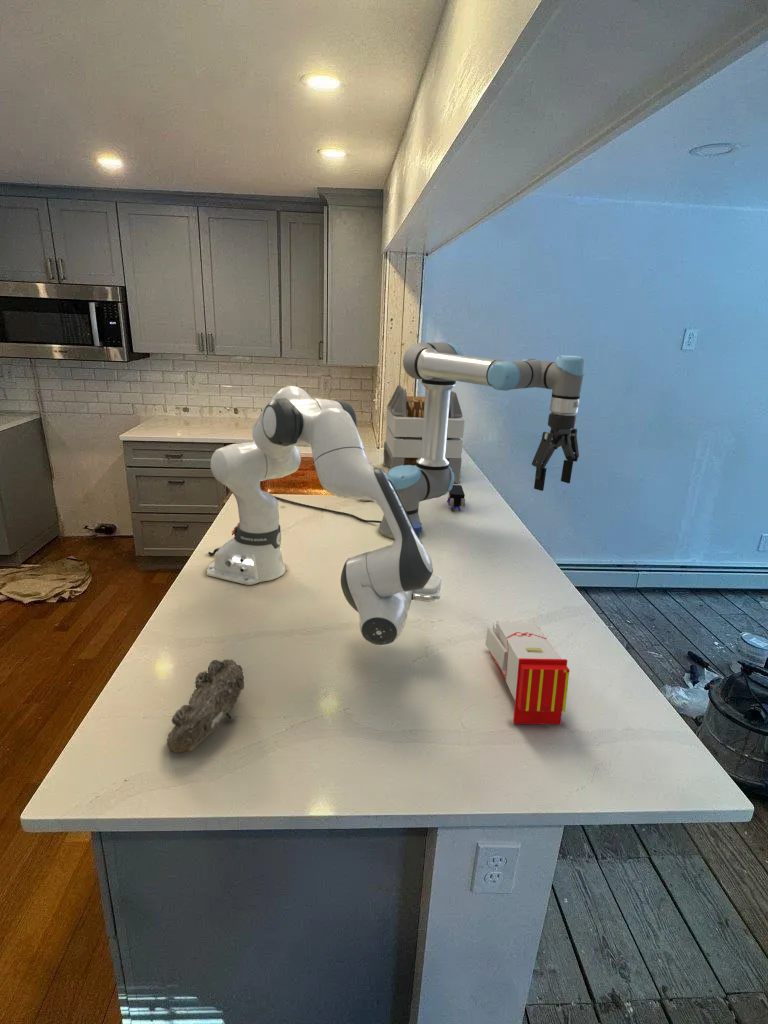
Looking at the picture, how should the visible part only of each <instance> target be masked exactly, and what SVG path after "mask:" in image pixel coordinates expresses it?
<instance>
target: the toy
mask: <svg viewBox="0 0 768 1024" xmlns="http://www.w3.org/2000/svg"><path fill="white" fill-rule="evenodd" d="M485 637H486V638H485V646H486V647H487V649H488V652H489V654H490V655H491V657H492V659H493V661H494V663H495V664H496V666H497V668H498V670H499V672H500V673H501V675H502V677H503V679H504V680H505V683H506V685H507V687H508V690H509V691H510V693H511V695H512V698H513V700H514V709H513V720H512V721H513V724H514V725H561V724H562V714H563V712H566V706H567V698H568V687H569V678H570V668H569V667H568V659H566V658H562V657H561V656H560V655H559V653H558V652H557V651H556V649H555V648H554V647H553V645H552V644H551V642H550V641H549V639H548V638H547V637H546V635H545V634H544V632H543V631H542V630H541V628H540V626H539V625H537V623H536V622H535V621H510V620H508V621H507V620H497V621H496V623H493V624H492V628H491V627H490V626H487V629H486V636H485Z"/></svg>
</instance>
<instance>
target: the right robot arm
mask: <svg viewBox="0 0 768 1024" xmlns="http://www.w3.org/2000/svg"><path fill="white" fill-rule="evenodd" d="M585 365H586V360H585V358H584V357H582V356H578V355H566V354H565V355H564V354H563V355H558V356H557V357H556V360H555V361H549V360H541V359H536V358H524V359H521V360H506V359H505V360H504V359H503V360H502V359H496V358H487V357H479V356H471V355H464V354H463V352H462V350H461V349H460V347H459V346H457V345H456V344H455V343H451V342H445V341H443V342H442V341H441V342H440V341H439V342H438V341H437V342H417V343H414V344H412V345H411V346H409V347H408V348H407V350H406V351H405V353H404V355H403V358H402V366H403V369H404V372H405V373H406V374H407V375H408V376H409V377H411V378H412V379H415V380H421V385H422V386H423V387H424V389H425V392H424V397H425V404H424V419H423V434H422V449H421V457H420V458H418V459H417V461H416V466H413V465H401V466H396V467H394V468H392V469H390V468H389V470H388V472H387V473H386V474H387V476H388V477H389V478H390V480H391V482H392V484H393V485H394V487H395V489H396V491H397V493H398V495H399V497H400V499H401V501H402V503H403V506H404V508H405V510H406V512H407V514H408V516H409V518H410V520H411V521H414V522H419V523H421V524H422V525H423V523H422V522H421V518H420V515H419V507H420V506H419V505H420V502H423V501H427V500H431V499H437V498H440V497H443V496H446V495H448V493H449V491H450V490H451V489H452V487H453V485H455V483H454V473H452V469H451V467H450V466H449V462H448V461H447V459H446V458H445V453H446V441H447V428H448V416H449V404H450V392H451V391H452V389H453V388H454V387H455V386H456V384H457V382H461V383H465V384H473V385H479V386H487V387H491V388H492V389H494V390H496V391H503V392H504V391H511V390H520V389H532V388H533V389H534V388H539V389H546V390H551V398H550V404H549V413H548V418H547V419H548V420H547V426H548V427H549V428H550V431H549V432H548V431H543V432H542V435H541V440H540V442H539V445H538V447H537V449H536V452H535V454H534V457H533V460H532V461H531V466H533V467H535V475H534V477H535V478H534V485H533V489H534V490H537V491H539V492H543V491H544V489H545V484H546V483H545V482H546V476H547V468H546V466H547V465H548V463H549V461H550V459H551V457H552V456H553V454H554V453H555V451H556V450H557V449H558V448H560V447H561V449H562V452H563V455H564V458H565V459H563V463H562V468H561V469H562V470H561V475H560V482H562V483H566V484H571V478H572V472H573V466H574V463H576V462H578V461H579V457H580V453H579V444H578V428H576V423H577V419H578V416H577V414H578V412H579V411H578V410H579V406H580V397H581V391H582V385H583V380H584V376H585ZM273 496H274V497H275V498H276V499H277V500H279V501H281V502H285V503H288V504H293V505H297V506H301V507H305V508H310V509H315V510H320V511H324V512H329V513H334V514H338V515H344V516H349V517H351V518H354V519H357V520H358V521H361V522H364V523H376V524H379V525H378V533H379V534H380V535H381V536H382V537H385V538H387V539H389V540H395V538H394V535H393V533H392V531H391V529H390V527H389V524H388V522H387V520H386V518H385V516H384V514H383V515H382V519H381V520H371V519H365V518H364V519H363V518H361V517H359V516H356V515H354V514H353V513H347V512H344V511H338V510H334V509H329V508H323V507H319V506H314V505H310V504H305V503H301V502H297V501H292V500H289V499H285V498H282V497H278V496H276V495H273ZM422 535H423V531H422V532H421V535H420V537H421V536H422Z"/></svg>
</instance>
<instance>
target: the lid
mask: <svg viewBox="0 0 768 1024" xmlns="http://www.w3.org/2000/svg"><path fill="white" fill-rule="evenodd" d="M411 522H412V525H413V527H414V529H415V531H416V533H417V535H418V534H420V533H421V532H422V533H423V523H422V522H421V523H422V524H421V523H419V522H414V521H411Z"/></svg>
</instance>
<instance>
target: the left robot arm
mask: <svg viewBox="0 0 768 1024" xmlns="http://www.w3.org/2000/svg"><path fill="white" fill-rule="evenodd" d="M357 425H358V419H357V415H356V412H355V409H354V408H353V406H352V405H351V404H350V403H348V402H345V401H343V400H340V399H327V398H319V397H311V396H310V395H309V393H308V392H307V391H306V390H304V389H303V388H301V387H299V386H296V385H287V386H283V387H282V388H281V389H280V388H279V390H278V391H277V392H276V393H275V394H274V395H272V397H271V398H270V399H269V401H268V402H267V403H266V405H265V406H264V408H263V409H262V411H261V413H260V414H259V416H258V418H257V420H256V421H255V423H254V425H253V427H252V433H251V434H252V440H253V441H246V442H238V443H232V444H231V443H230V444H229V445H225V446H222V447H219V448H217V449H215V450H214V452H213V453H212V455H211V457H210V471H211V474H212V476H213V477H214V478H215V480H216V481H217V482H218V483H219V484H221V485H223V486H225V487H226V488H227V489H229V491H231V493H232V495H233V496H234V498H235V501H236V504H237V511H238V519H239V521H238V523H236V524H237V525H236V526H235V527H233V529H232V530H231V536H233V537H232V538H231V539H229V540H228V541H227V542H224V543H223V545H222V546H220V547H217V548H214V550H213V551H212V552H211V551H208V552H207V554H208V555H210V556H215V557H214V560H213V561H212V562H210V564H209V565H208V566H207V569H206V575H207V576H209V577H212V578H216V579H221V580H225V581H229V582H234V583H237V584H238V583H239V584H243V585H247V586H252V585H253V586H254V585H256V584H258V583H262V582H268V581H269V582H270V581H273V580H275V579H278V578H280V577H282V576H283V575H284V574H285V573H286V570H287V569H286V566H285V562H284V560H283V555H282V548H281V545H282V530H281V529H282V528H281V525H280V512H279V511H280V510H279V502H278V499H276V498H275V497H274V496H275V495H273V494H272V493H270V492H268V491H265V490H262V488H261V482H263V481H270V480H274V479H281V478H284V477H287V476H289V475H291V474H294V473H296V472H297V471H298V470H299V468H300V466H301V462H302V454H301V450H300V448H299V447H302V448H310V449H311V454H312V459H313V464H314V467H315V472H316V476H317V479H318V481H319V483H320V485H321V487H322V488H323V489H324V491H326V492H327V493H329V494H330V495H332V496H334V497H337V498H341V499H347V500H359V499H363V500H369V501H373V502H375V503H376V504H377V505H378V506H379V507H380V510H381V511H382V514H383V515H384V516H385V518H386V520H387V522H388V524H389V527H390V529H391V531H392V533H393V535H394V538H395V539H394V542H393V543H392V544H390V545H386V546H384V547H380V548H377V549H374V550H371V551H370V550H369V551H367V552H364V553H359V554H356V555H354V556H351V557H348V558H347V559H346V561H345V562H344V564H343V566H342V570H341V573H340V587H341V591H342V593H343V596H344V598H345V600H346V601H347V603H348V604H349V605H350V607H351V608H352V609H353V610H355V612H357V613H358V617H359V630H360V633H361V636H362V638H363V639H365V641H367V642H368V643H370V644H373V645H376V646H385V645H389V644H392V643H393V642H395V641H396V640H397V639H398V638H399V637H400V636H401V634H402V632H403V630H404V627H405V625H406V623H407V619H408V613H409V611H410V609H411V608H410V607H411V604H412V602H413V601H414V602H415V601H418V602H424V603H431V602H435V601H436V600H440V598H441V595H442V594H441V589H442V578H441V576H439V575H436V574H434V568H433V562H432V559H431V556H430V554H429V551H428V550H427V548H426V547H425V546H424V544H423V542H422V541H421V537H420V538H419V537H418V535H417V533H416V531H415V529H414V527H413V525H412V522H411V520H410V518H409V516H408V514H407V512H406V510H405V508H404V506H403V503H402V501H401V499H400V497H399V495H398V493H397V491H396V489H395V487H394V485H393V484H392V482H391V480H390V478H389V477H388V476H387V474H388V473H386V472H385V471H384V469H382V468H379V467H375V466H374V465H373V464H372V465H371V463H372V462H371V461H369V458H368V457H367V454H366V451H365V447H364V443H363V440H362V438H361V435H360V432H359V430H358V428H357ZM370 462H371V463H370Z"/></svg>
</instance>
